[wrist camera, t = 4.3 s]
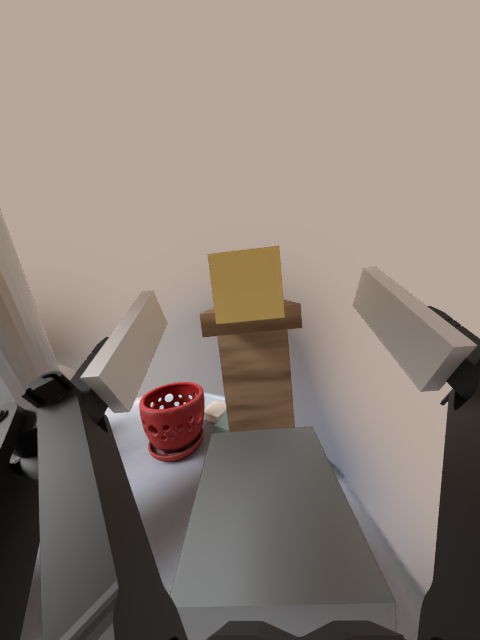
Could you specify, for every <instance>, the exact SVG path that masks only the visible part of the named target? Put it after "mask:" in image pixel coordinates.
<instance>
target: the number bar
mask: <svg viewBox="0 0 480 640" xmlns="http://www.w3.org/2000/svg"><path fill="white" fill-rule="evenodd" d="M208 261H209V270H210V278H211V285H212V294H213V302H214V311H215V319H216V324H224V323H234V322H244V321H254V320H264V319H275V318H285V315H284V302H283V289H282V276H281V263H280V250H279V246H274V247H264V248H256V249H247V250H239V251H230V252H222V253H214V254H208Z"/></svg>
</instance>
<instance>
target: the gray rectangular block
mask: <svg viewBox="0 0 480 640" xmlns="http://www.w3.org/2000/svg"><path fill="white" fill-rule="evenodd" d="M170 597H171V598H172V600H173V602H174V604H175V606H176V608H177V610H178V613H179V615H180V618H181V621H182V624H183V627H184V630H185V633H186V635H187V638H188V640H206V639H207V638H208V637H210V636H211V635H212V634H213V633H215V632H216V631H218V630H219V629H220V628H221V627H223V626H224V625H225V624H226V623H227V622H228V621H264V622H266V623H268V624H271V625H273V626H275V627H277V628H279V629H282V630H284V631H286V632H288V633H290V634H292V635H295V636H297V637H302V636H304V635H306V634H308V633H310V632H312V631H314V630H316V629H318V628H320V627H322V626H324V625H326V624H328V623H330V622H331V621H333V620H369V621H371V622H374V623H376V624H378V625H381V626H383V627H385V628H387V629H390V630H392V631H394V632H396V602H395V600H394V598H393V596H392V594H391V592H390V590H389V588H388V585H387V583H386V581H385V579H384V577H383V575H382V573H381V571H380V569H379V566H378V564H377V562H376V560H375V558H374V556H373V554H372V552H371V549H370V547H369V545H368V543H367V541H366V539H365V537H364V535H363V533H362V530H361V528H360V526H359V524H358V522H357V520H356V518H355V516H354V513H353V511H352V509H351V507H350V505H349V503H348V501H347V499H346V497H345V494H344V492H343V490H342V488H341V486H340V484H339V482H338V480H337V477H336V475H335V473H334V471H333V469H332V467H331V465H330V463H329V461H328V458H327V456H326V454H325V452H324V450H323V448H322V446H321V444H320V442H319V439H318V437H317V435H316V433H315V431H314V429H313V427H297V428H283V429H268V430H253V431H239V432H224V433H212V435H211V439H210V442H209V446H208V450H207V454H206V458H205V462H204V465H203V469H202V473H201V477H200V481H199V485H198V489H197V492H196V496H195V500H194V504H193V508H192V512H191V515H190V519H189V523H188V527H187V531H186V535H185V538H184V542H183V546H182V550H181V554H180V558H179V562H178V565H177V569H176V573H175V577H174V581H173V585H172V588H171V592H170Z"/></svg>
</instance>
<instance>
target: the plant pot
mask: <svg viewBox="0 0 480 640" xmlns="http://www.w3.org/2000/svg"><path fill="white" fill-rule="evenodd" d="M195 393H196V395H197V396H196V395H195ZM167 394H172V395H173V397H174V398H173V400H172V401H171V402H166V401H165V396H166V395H167ZM178 395H182V398H179V397H178ZM188 395H191V396H192V399H189V397H188ZM159 398H162V400H161V401H160V402H158V399H159ZM151 402H153V406H152V407H150V404H151ZM175 402H179V406H175V405H174V403H175ZM184 402H186V404H183V403H184ZM161 405H163V406H164V409H159V407H160V406H161ZM139 407H140V416H141V420H142V424H143V428H144V431H145V433H146V435H147V437H148V439H149V440H150V441H149V444H148V450H149V452H150V454H151V455H152V456H153V457H154V458H156V459H158V460H161V461H174V460H178V459H181V458H183V457H185V456H187V455H189V454H190V453H191V452H193V451H194V450H195V449H196V448H197V447H198V445H199V444H200V443H201V441H202V438H203V433H204V432H203V428H202V424H203V419H204V409H205V407H204V393H203V389H202V387H201V386H200V385H198V384H195V383H191V382H177V383H172V384H167V385H163V386H160V387H158V388H155V389H153V390H152V391H150V392H148V393H147V394H145V395H144V396H143V397H142V399H141V400H140V404H139Z"/></svg>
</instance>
